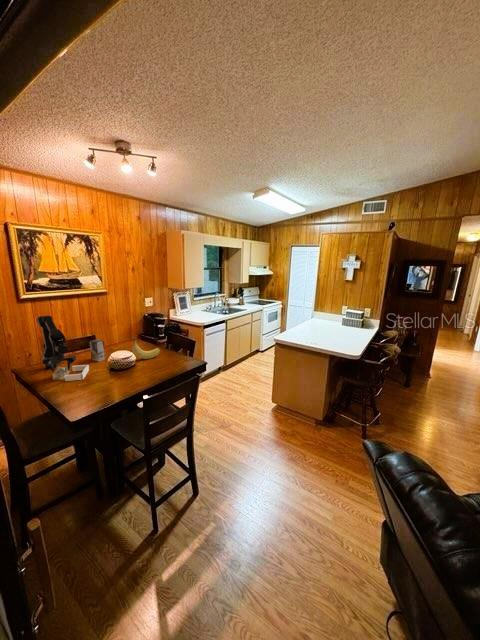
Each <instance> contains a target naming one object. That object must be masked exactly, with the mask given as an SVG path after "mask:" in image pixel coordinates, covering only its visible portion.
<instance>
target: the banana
mask: <svg viewBox="0 0 480 640" xmlns="http://www.w3.org/2000/svg"><path fill="white" fill-rule="evenodd" d="M132 341H133V345H132V347H131V351H132V353H133V354H134V355H135V356H137V357H138V358H140V359H143V360H146V359H147V360H148V359H149V360H150V359H152V358H155V357H156V356H158V355H159V354H160V351H161V348H159V347H157V348H154V349H151V350H143V349H141V348H140V346H139V344H138V343H137V339H136V337H132Z"/></svg>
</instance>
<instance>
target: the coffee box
mask: <svg viewBox="0 0 480 640" xmlns="http://www.w3.org/2000/svg"><path fill="white" fill-rule="evenodd" d="M89 347H90V348H89V349H90V350H89V351H90V357H91V361H96V362H101V361H104V360H106V354H105V353H106V352H105V343H104V339H103V340H102V339H97V338H95V339H93V340H89Z"/></svg>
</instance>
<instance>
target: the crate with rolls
mask: <svg viewBox="0 0 480 640" xmlns="http://www.w3.org/2000/svg"><path fill="white" fill-rule="evenodd" d="M70 373H71V371H70V369H69V371H68V366H64V367H63V366H62V367H60V366H59V367H57V369H56V370H54V372H52V381H54V382H55V381H65V375H70Z"/></svg>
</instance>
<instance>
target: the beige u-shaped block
mask: <svg viewBox="0 0 480 640" xmlns="http://www.w3.org/2000/svg"><path fill="white" fill-rule="evenodd" d="M71 369H72V372H81V373H74V374H68V375H65V380H64V381H65V382H71V381H72V382H73V381H81V380H85V378H86V376H87V374H88V372H89V371H90V364H82V365H81V364H80V365H79V364H78V365H72V366H71Z"/></svg>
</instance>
